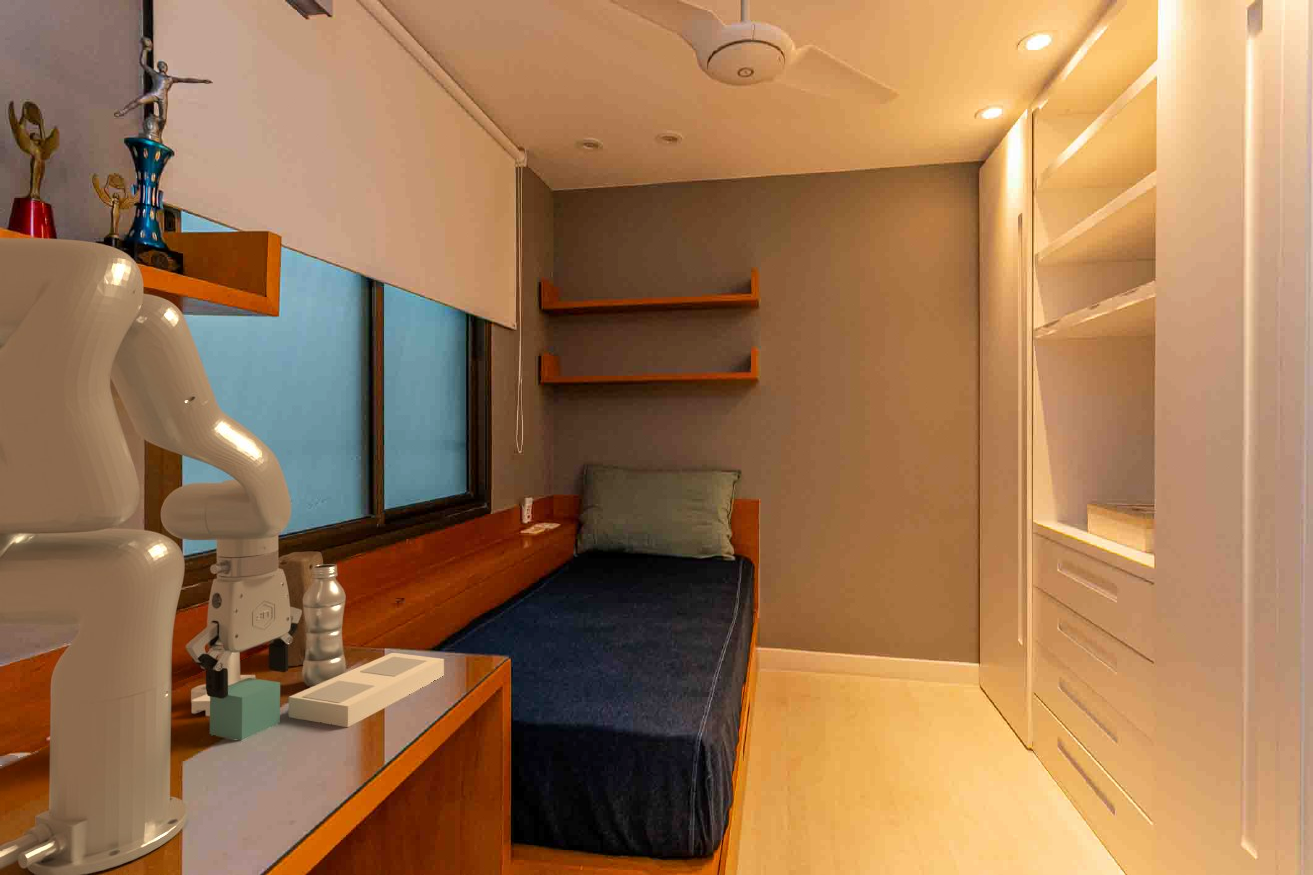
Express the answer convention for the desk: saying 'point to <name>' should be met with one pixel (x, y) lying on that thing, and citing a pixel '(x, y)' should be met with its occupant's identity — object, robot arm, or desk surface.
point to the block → (298, 596)
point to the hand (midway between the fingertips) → (249, 682)
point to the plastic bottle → (323, 627)
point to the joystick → (233, 666)
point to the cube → (245, 709)
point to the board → (365, 689)
